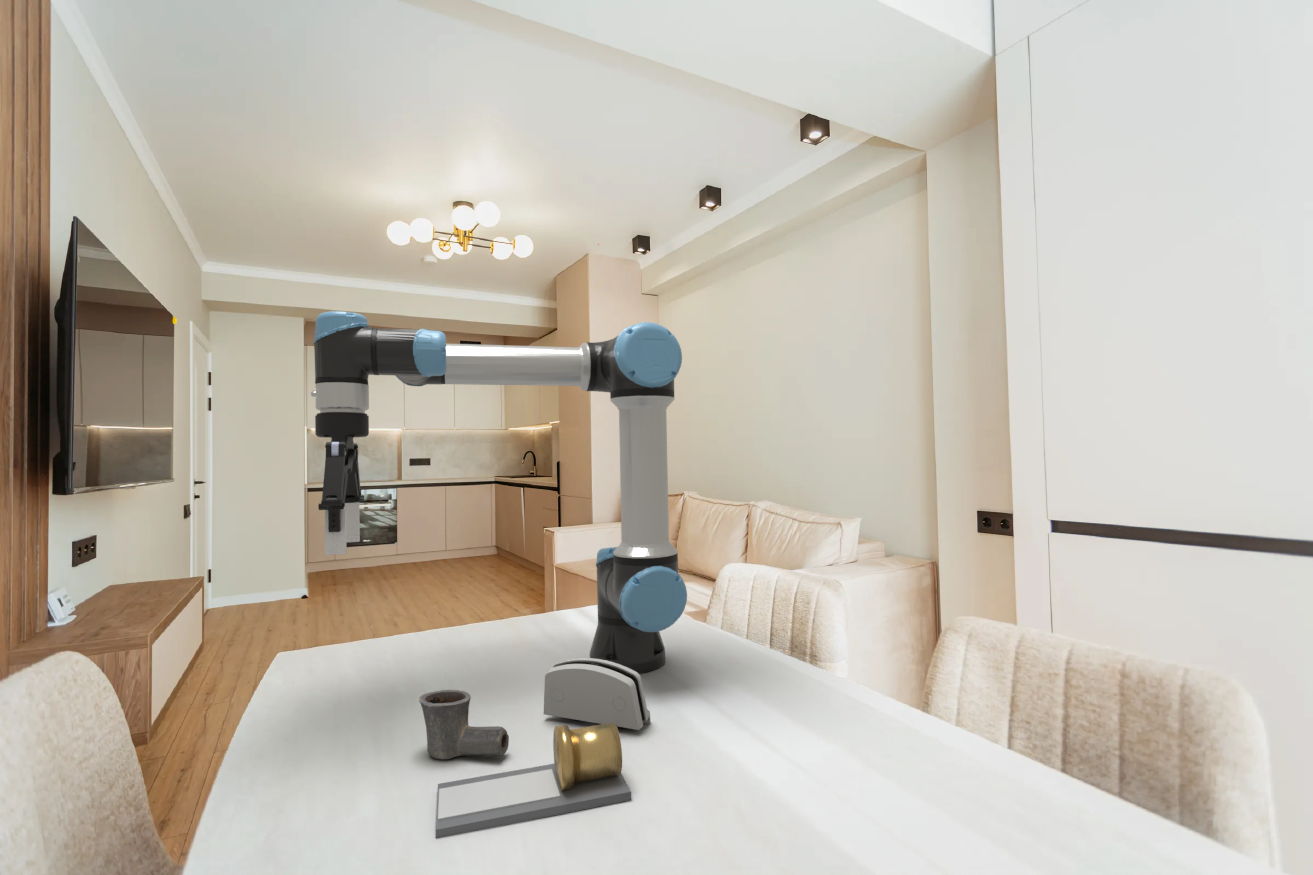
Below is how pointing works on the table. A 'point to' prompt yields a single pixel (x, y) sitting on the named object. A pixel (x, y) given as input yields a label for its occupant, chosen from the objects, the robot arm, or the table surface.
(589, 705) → the grey napkin holder
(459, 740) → the pipe
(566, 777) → the cylinder
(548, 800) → the base
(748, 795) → the table surface
